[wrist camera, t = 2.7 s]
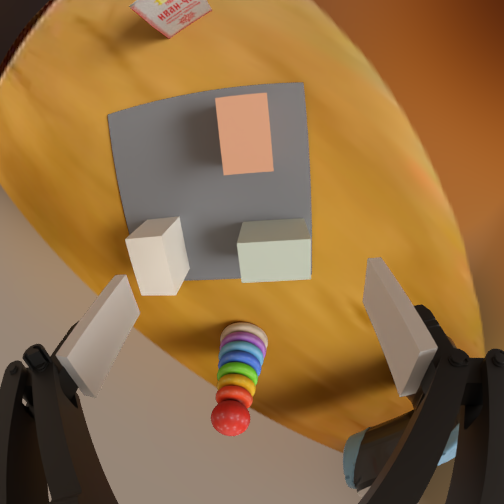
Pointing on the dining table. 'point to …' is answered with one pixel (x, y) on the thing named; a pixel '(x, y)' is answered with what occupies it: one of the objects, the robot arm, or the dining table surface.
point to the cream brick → (158, 256)
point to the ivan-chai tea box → (170, 13)
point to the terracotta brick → (244, 133)
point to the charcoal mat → (210, 172)
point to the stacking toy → (237, 376)
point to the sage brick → (274, 250)
